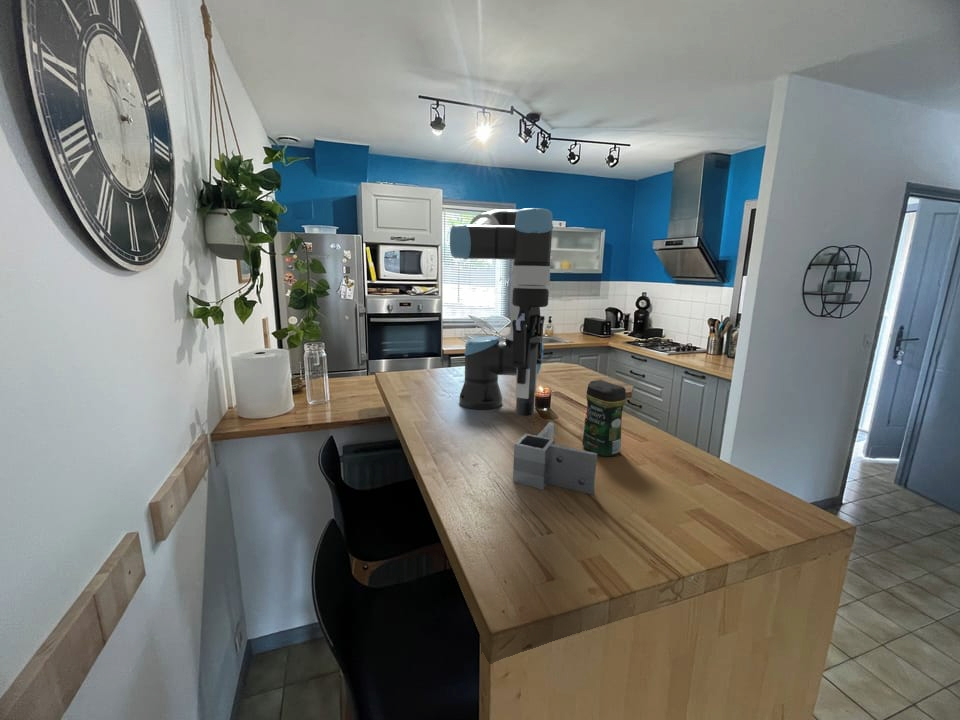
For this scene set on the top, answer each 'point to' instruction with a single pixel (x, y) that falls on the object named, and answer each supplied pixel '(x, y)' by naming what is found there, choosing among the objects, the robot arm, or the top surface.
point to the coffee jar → (604, 418)
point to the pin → (530, 381)
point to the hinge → (552, 463)
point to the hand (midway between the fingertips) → (525, 394)
